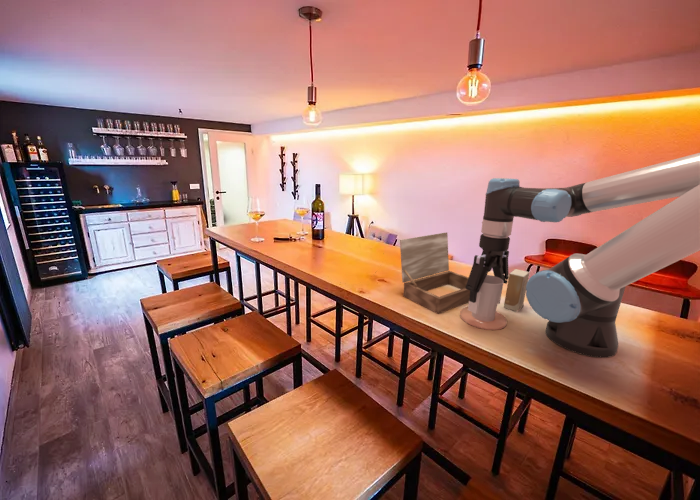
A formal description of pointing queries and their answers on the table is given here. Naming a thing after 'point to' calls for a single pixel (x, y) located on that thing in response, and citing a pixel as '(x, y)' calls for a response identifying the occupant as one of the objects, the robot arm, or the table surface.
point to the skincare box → (516, 290)
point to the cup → (489, 298)
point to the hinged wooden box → (430, 273)
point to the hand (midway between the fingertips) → (484, 306)
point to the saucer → (496, 324)
